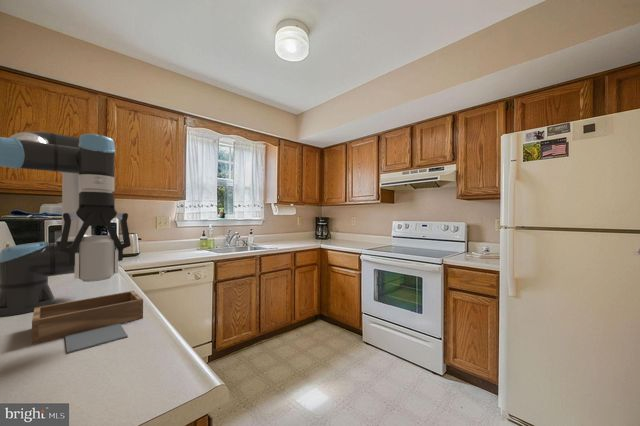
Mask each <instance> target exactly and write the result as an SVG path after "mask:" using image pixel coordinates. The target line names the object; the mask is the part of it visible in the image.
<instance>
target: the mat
mask: <svg viewBox="0 0 640 426" xmlns="http://www.w3.org/2000/svg"><path fill="white" fill-rule="evenodd" d="M121 324H122V323H118V324H114V325H110V326H106V327H102V328H97V329H93V330H89V331H85V332H81V333H76V334H72V335H68V336H65V337H64V339H65V349H66V355H67V354H71V353H74V352H78V351H82V350H85V349H86V350H87V349H89V348H93V347H97V346H101V345H105V344H108V343H111V342H115V341H118V340H122V339H125V338H128V337H129V336H128V333H127V332H126V331H125V329H124V328H123V326H122V325H121Z"/></svg>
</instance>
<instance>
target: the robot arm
mask: <svg viewBox="0 0 640 426" xmlns="http://www.w3.org/2000/svg"><path fill="white" fill-rule="evenodd" d="M115 153H116V147H115V141H114V139H113V138H111V137H108V136H106V135H102V134H96V133H84V134H81V135H80V136H79V137H78V136H72V135H68V134H59V133H53V132H49V131H40V130H39V131H36V130H35V131H33V130H32V131H22V132H21V131H20V132H16V133H14V134H12V135H10V137H2V136H0V167H3V168H11V169H15V170H18V169H20V170H21V169H22V170H23V169H24V170H36V171H45V172H46V171H49V172H56V173H60V174H61V175H62V177H61V178H62V181H61V183H62V186H61V187H62V195H61V199H62V202H61V206H62V207H61V211H62V212H61V236H60V237H58V238H57V239H56V241H55V243H56V244H53V245H50V244H49V242H47V241H38V242H31V243H22V244H17V245H13V246H12V245H11V246H7V247H4V248H2V249H1V250H0V317H4V316H5V317H6V316H15V315H21V314H27V313H31V312H32V313H33V312H34V308H36V307H42V306H48V305H54V304H55V296H54V294H53V291H52V289H51V287H50V285H49V277H53V276H64V275H71V274H74V279H75V280H77V279H79V244H80V242H81V240H82V239H83V237H84V236H91V235H92V227H94V226H101V227H103V226H104V227H105V228H106V230H107V233H108V235H111V238H112V239H113V240H114V247H116V248H115V249H114V275H116V274H119V262H122V261H123V259H124V249H127V248H129V247H130V246H131V245H132V244H131V238H130V232H129V226H128V222H127V221H128V218H129V214H128V213H126V212H118V211H117V210H116V208H115V206H116V205H115V199H116V198H115V194H114V193H113V192H114V191H116V190H115V187H116V186H115V167H116V166H115V163H116V162H115V161H116V160H115V159H116V158H115V157H116V156H115V155H116V154H115ZM115 217H117V219H118V221H120V223H119V224H120V230H121V234H122V242H123V243H122V242H121V241H120V240H121V239H120V237H119V236H118V234H117V231H116V230H115V228H114V226H113V224H112V220H113V219H114V218H115Z"/></svg>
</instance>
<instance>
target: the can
mask: <svg viewBox="0 0 640 426" xmlns="http://www.w3.org/2000/svg"><path fill="white" fill-rule="evenodd" d="M114 250H115V244H114V240H113V239H112V238H111V235H110V234H108V235H107V234H105V235H103V234H101V235H93V234H91V236H84V237H83V239H82V240H81V242H80V244H79V278H78V279H79V280H81V281H82V282H85V283H86V282H87V283H90V282H91V283H92V282H100V281H105V280H110V279H111V277H113V276H114V275H115V273H114Z"/></svg>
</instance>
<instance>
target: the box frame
mask: <svg viewBox="0 0 640 426" xmlns="http://www.w3.org/2000/svg"><path fill="white" fill-rule="evenodd" d="M32 314H33V315H32V320H31V345H36V344H41V343H45V342H49V341H52V340H56V339H61V338H65V336H68V335H72V334H76V333H81V332H85V331H89V330H93V329H97V328H102V327H106V326H110V325H114V324H118V323H120V324H124V323H129V322H133V321H136V320H141V319H144V298H143V297H141V296H140V295H139V294H138V293H136V292H135V291H134V290H131V291H130V290H129V291H125V292H119V293H113V294H106V295H101V296H95V297H89V298H84V299H78V300H72V301H65V302H62V303H60V302H59V303H54V304H53V305H48V306H42V307H36V308H34V311H33V312H32Z"/></svg>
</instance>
